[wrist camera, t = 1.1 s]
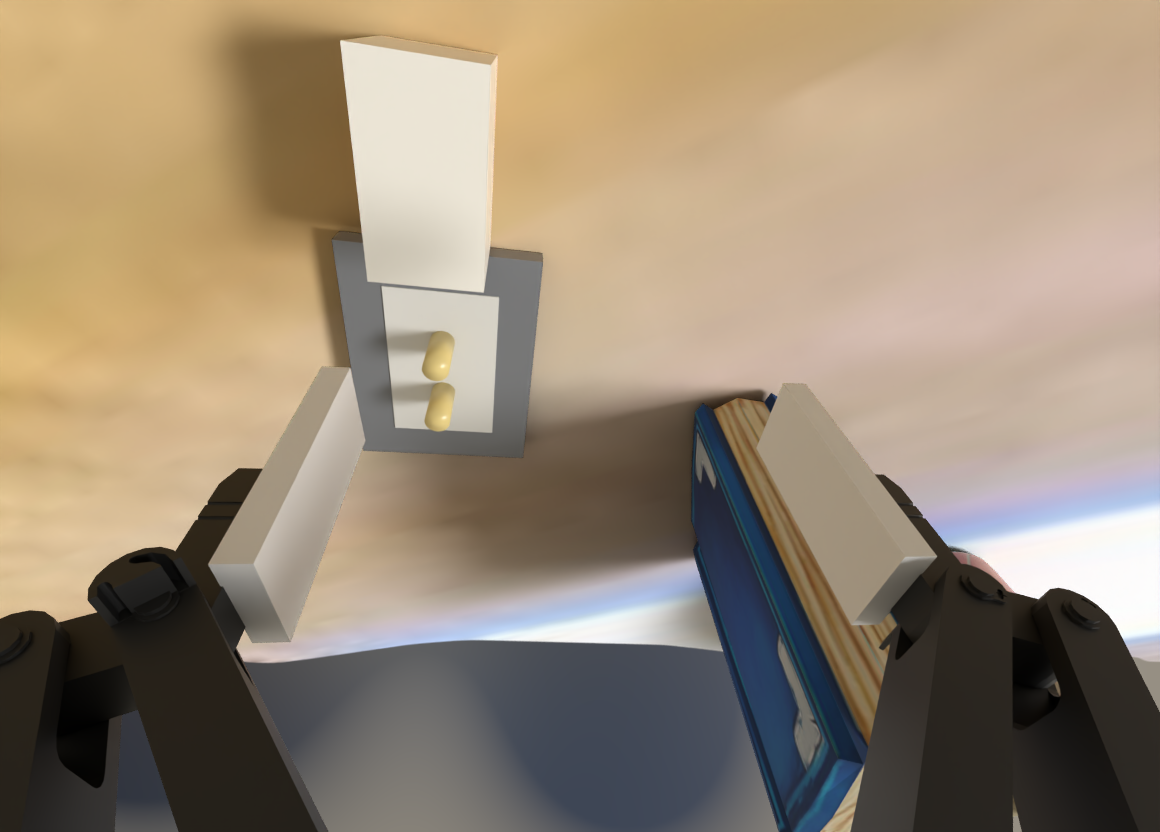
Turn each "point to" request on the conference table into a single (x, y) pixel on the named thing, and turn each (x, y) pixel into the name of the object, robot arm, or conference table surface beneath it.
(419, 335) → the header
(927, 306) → the conference table surface
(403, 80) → the block
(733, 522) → the book
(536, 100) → the conference table surface
